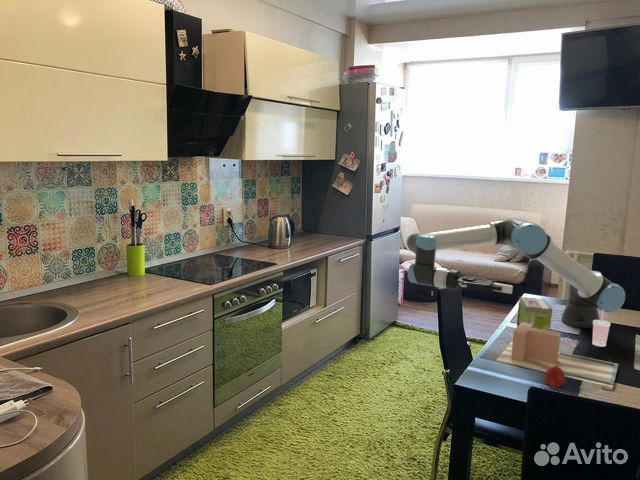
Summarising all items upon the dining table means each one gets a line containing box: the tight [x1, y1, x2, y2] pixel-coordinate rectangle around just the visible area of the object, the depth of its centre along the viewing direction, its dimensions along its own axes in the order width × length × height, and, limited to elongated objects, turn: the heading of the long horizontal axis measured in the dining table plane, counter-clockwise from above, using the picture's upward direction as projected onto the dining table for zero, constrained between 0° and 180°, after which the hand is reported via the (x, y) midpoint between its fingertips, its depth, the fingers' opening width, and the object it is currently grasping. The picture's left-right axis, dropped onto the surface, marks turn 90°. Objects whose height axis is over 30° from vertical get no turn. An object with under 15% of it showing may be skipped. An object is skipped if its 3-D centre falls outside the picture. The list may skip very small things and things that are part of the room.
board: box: [495, 341, 619, 391], centre depth 185 cm, size 22×36×2 cm, turn 57°
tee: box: [511, 322, 562, 364], centre depth 188 cm, size 12×14×10 cm
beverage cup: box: [591, 310, 611, 348], centre depth 204 cm, size 6×6×14 cm
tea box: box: [516, 296, 553, 331], centre depth 210 cm, size 15×10×15 cm
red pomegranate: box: [544, 365, 566, 390], centre depth 166 cm, size 6×6×8 cm
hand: (511, 289), depth 190 cm, fingers closed
